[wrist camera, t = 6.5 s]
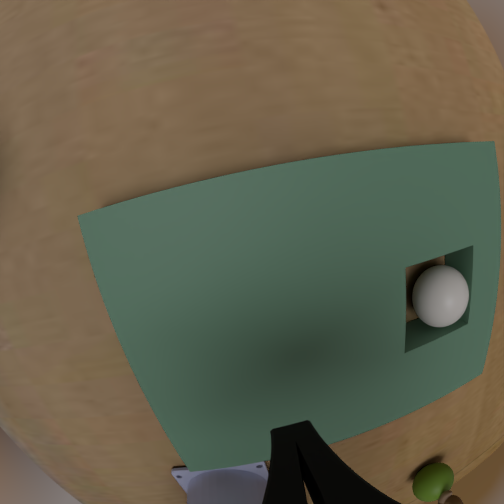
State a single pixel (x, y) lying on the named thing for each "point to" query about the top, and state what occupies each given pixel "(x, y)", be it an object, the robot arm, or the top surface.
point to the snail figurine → (435, 484)
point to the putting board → (298, 293)
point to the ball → (440, 296)
